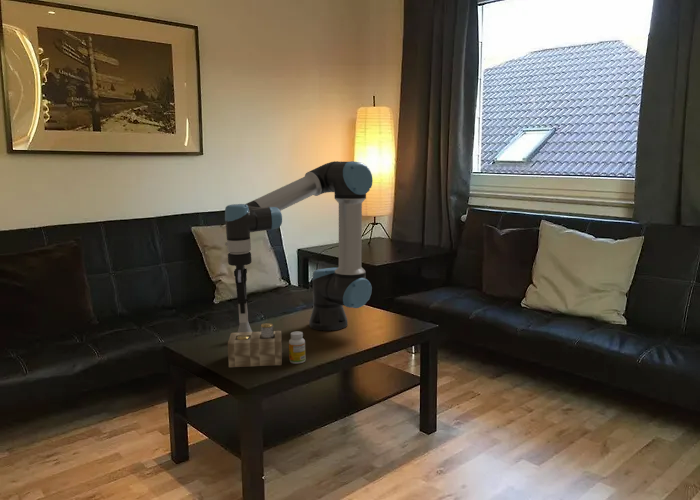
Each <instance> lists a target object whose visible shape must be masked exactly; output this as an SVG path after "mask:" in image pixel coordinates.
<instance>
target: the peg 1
mask: <svg viewBox="0 0 700 500" xmlns="http://www.w3.org/2000/svg"><path fill="white" fill-rule="evenodd" d="M237 340H249V336H247V335H242V336H238V337H237Z"/></svg>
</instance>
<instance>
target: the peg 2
mask: <svg viewBox="0 0 700 500" xmlns="http://www.w3.org/2000/svg"><path fill="white" fill-rule="evenodd" d="M273 331H274V324H273V323H270V322H268V323H267V322H265V323H261V325H260V332H261V339H272V338H273Z"/></svg>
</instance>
